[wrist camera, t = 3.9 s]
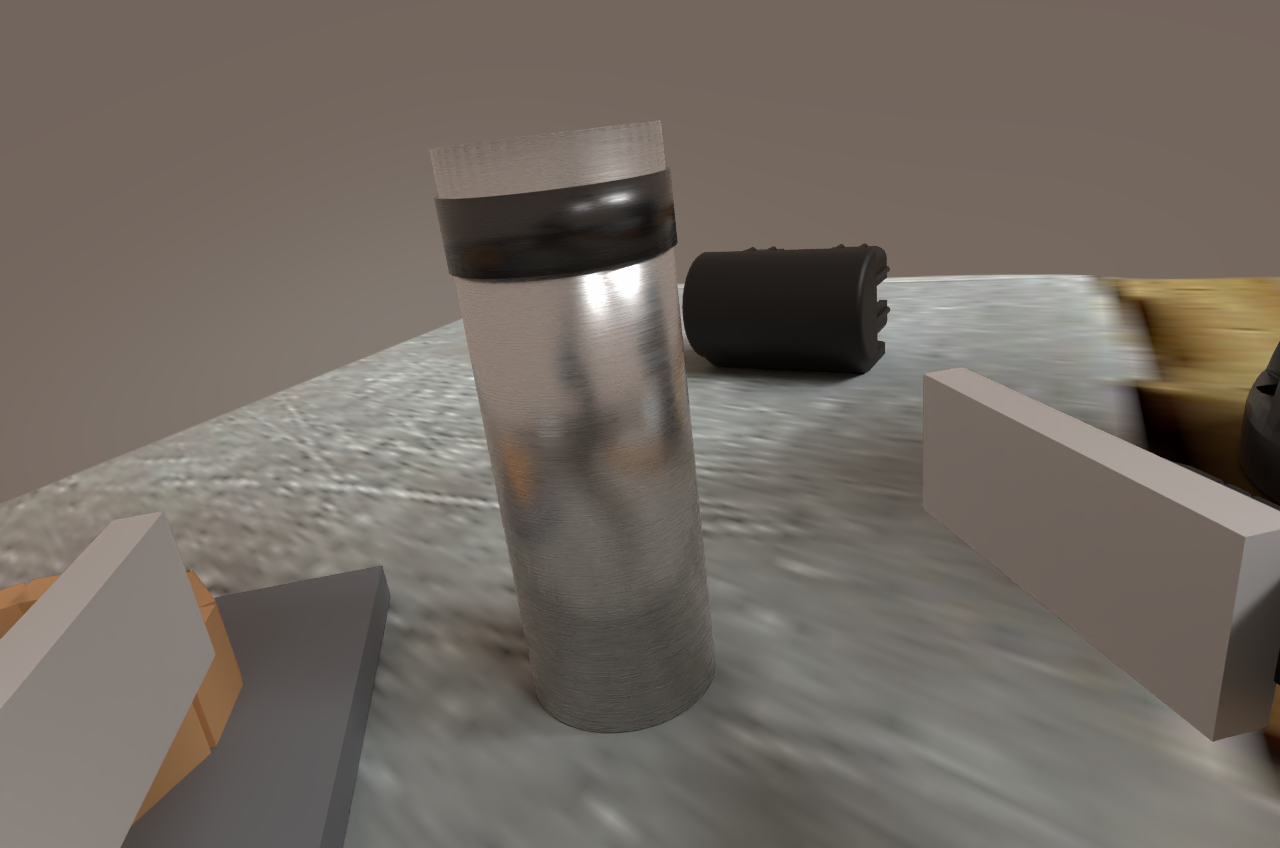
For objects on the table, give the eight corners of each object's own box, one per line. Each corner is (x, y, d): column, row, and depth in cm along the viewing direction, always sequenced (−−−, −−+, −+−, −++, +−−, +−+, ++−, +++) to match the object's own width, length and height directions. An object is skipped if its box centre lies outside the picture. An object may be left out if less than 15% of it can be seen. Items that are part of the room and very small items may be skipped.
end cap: (687, 381, 46) (675, 263, 44) (736, 346, 52) (728, 239, 50) (862, 392, 41) (859, 259, 39) (896, 351, 47) (895, 233, 45)
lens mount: (390, 596, 27) (364, 498, 26) (322, 952, 15) (269, 801, 14) (-132, 699, 25) (-188, 597, 24) (-686, 1207, 13) (-856, 1057, 12)
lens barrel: (692, 600, 25) (640, 122, 20) (743, 708, 20) (691, 116, 16) (526, 634, 24) (430, 148, 20) (538, 755, 20) (416, 150, 15)
